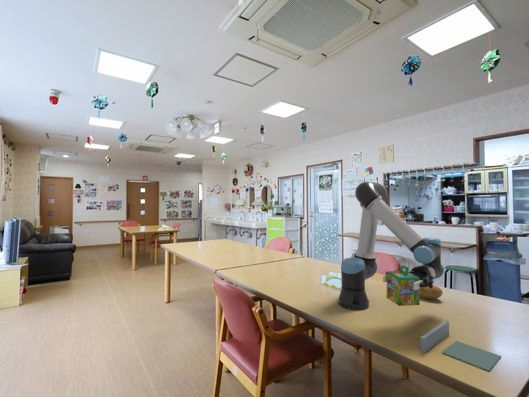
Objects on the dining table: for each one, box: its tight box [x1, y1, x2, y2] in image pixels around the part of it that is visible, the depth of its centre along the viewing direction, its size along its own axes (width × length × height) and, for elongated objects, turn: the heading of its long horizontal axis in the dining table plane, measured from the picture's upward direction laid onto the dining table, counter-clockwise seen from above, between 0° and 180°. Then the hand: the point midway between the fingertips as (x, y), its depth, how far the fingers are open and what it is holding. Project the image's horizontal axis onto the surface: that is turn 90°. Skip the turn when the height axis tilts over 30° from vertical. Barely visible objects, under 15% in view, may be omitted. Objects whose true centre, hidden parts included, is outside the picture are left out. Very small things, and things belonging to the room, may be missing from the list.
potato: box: [419, 285, 444, 300], centre depth 147 cm, size 10×14×8 cm
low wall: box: [420, 320, 450, 354], centre depth 101 cm, size 1×22×5 cm, turn 126°
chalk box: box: [386, 264, 420, 307], centre depth 111 cm, size 9×9×15 cm
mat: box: [441, 340, 502, 372], centre depth 92 cm, size 13×13×1 cm
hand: (398, 282), depth 109 cm, fingers closed on chalk box, 12 cm apart
